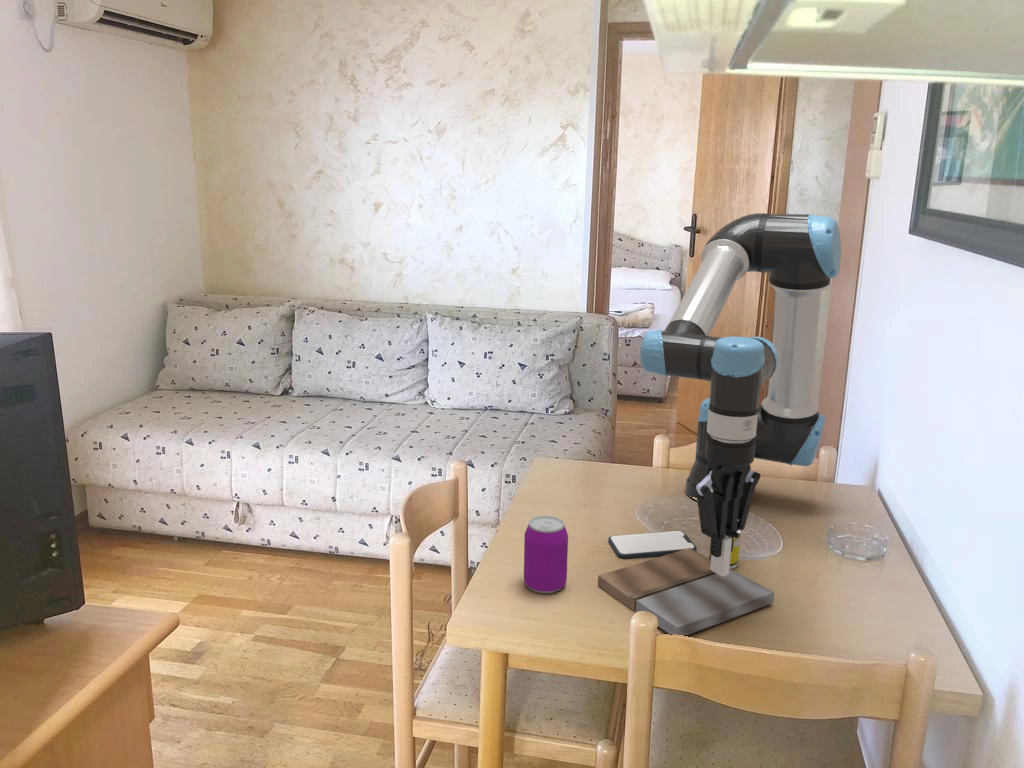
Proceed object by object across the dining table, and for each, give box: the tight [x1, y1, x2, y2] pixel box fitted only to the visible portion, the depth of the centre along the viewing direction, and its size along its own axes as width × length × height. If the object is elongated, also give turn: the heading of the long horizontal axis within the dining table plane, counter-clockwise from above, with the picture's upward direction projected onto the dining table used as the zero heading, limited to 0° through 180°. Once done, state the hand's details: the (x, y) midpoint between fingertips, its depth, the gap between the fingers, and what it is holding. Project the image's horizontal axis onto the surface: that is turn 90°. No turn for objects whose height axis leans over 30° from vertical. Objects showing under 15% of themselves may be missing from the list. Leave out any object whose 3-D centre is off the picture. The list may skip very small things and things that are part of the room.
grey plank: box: [635, 569, 775, 636], centre depth 135 cm, size 22×10×2 cm, turn 121°
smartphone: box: [607, 530, 698, 560], centre depth 158 cm, size 9×2×16 cm
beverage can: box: [523, 515, 569, 594], centre depth 142 cm, size 8×8×12 cm
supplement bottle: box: [708, 530, 742, 570], centre depth 151 cm, size 5×5×10 cm
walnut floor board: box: [597, 548, 717, 612], centre depth 144 cm, size 22×10×2 cm, turn 121°
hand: (719, 571), depth 132 cm, fingers closed
